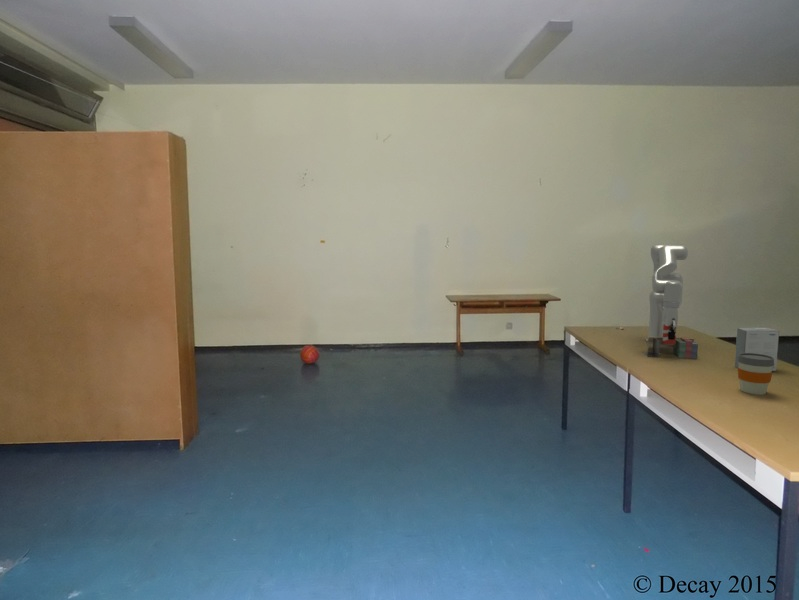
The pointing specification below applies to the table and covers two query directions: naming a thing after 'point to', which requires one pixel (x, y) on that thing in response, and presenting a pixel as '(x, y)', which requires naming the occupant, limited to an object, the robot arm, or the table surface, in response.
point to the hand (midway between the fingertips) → (669, 337)
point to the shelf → (676, 347)
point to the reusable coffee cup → (755, 372)
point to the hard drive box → (757, 343)
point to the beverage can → (665, 336)
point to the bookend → (654, 349)
